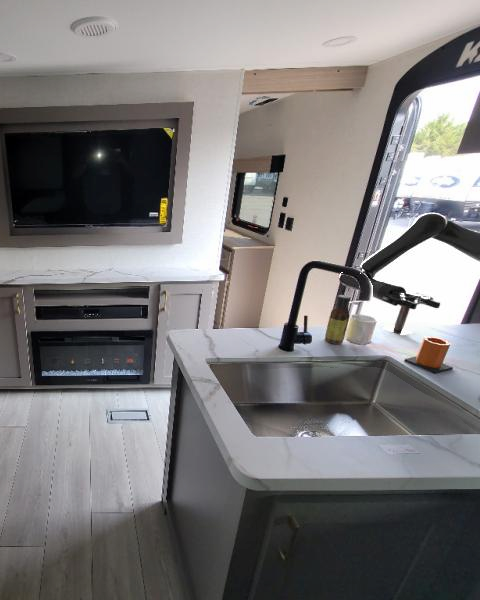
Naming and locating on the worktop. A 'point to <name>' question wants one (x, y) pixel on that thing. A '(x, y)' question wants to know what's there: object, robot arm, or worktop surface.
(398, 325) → the stand
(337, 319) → the sauce bottle
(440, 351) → the orange spice jar
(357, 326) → the mug
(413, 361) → the mat
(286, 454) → the worktop surface
